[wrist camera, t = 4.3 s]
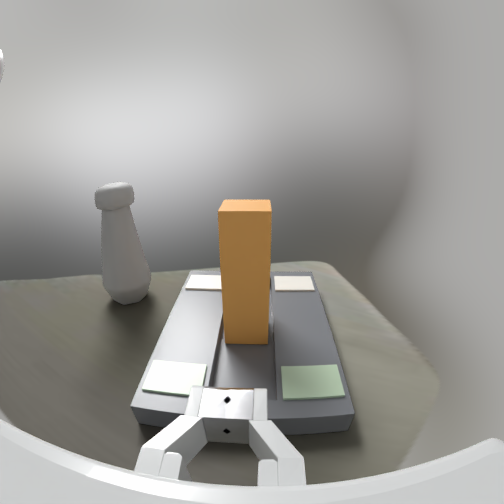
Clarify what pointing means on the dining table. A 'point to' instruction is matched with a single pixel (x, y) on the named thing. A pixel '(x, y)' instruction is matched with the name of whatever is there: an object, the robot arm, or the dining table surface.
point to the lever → (245, 269)
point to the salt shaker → (121, 245)
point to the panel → (249, 358)
